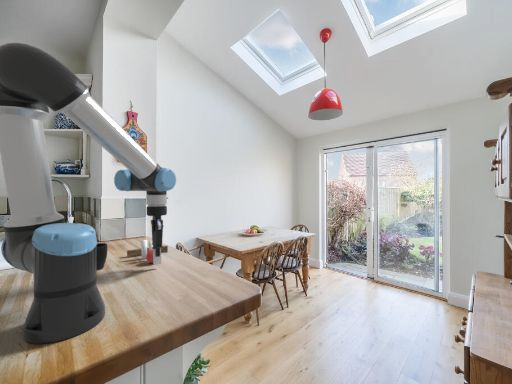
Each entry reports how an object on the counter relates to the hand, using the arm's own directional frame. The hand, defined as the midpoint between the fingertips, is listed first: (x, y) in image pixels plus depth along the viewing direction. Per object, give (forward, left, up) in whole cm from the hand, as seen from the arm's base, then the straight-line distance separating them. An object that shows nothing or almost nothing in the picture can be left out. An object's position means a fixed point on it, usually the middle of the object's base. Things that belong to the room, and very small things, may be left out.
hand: (157, 263), depth 95 cm
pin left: (+17, +3, -2) cm, 18 cm away
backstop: (+25, 0, -2) cm, 25 cm away
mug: (+15, +21, -2) cm, 26 cm away
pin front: (+13, 0, -2) cm, 13 cm away
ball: (+9, 0, +1) cm, 9 cm away
